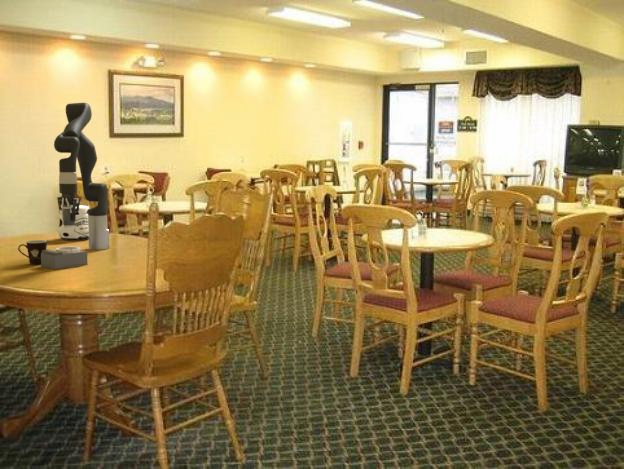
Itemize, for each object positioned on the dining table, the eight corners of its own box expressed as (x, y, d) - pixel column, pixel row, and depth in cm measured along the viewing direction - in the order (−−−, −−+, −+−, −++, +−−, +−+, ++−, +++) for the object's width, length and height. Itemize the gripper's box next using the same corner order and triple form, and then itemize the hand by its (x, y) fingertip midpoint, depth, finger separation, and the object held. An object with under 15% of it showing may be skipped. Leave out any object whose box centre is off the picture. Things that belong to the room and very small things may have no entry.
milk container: (85, 242, 381) (84, 208, 379) (53, 241, 381) (52, 208, 379) (95, 237, 398) (95, 205, 396) (65, 236, 399) (64, 204, 396)
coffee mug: (51, 262, 322) (51, 240, 320) (38, 266, 313) (37, 243, 312) (30, 260, 325) (30, 239, 324) (17, 264, 317) (16, 241, 316)
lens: (71, 226, 319) (70, 206, 317) (77, 227, 315) (77, 206, 314) (60, 227, 314) (60, 206, 313) (67, 228, 311) (67, 207, 310)
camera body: (73, 261, 325) (72, 245, 324) (87, 264, 319) (87, 248, 317) (41, 266, 313) (40, 249, 312) (55, 269, 306) (54, 252, 305)
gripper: (85, 183, 311) (86, 221, 313) (66, 181, 320) (67, 218, 322) (70, 183, 305) (71, 223, 307) (51, 181, 314) (52, 220, 316)
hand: (69, 220), depth 315 cm, fingers closed on lens, 5 cm apart
